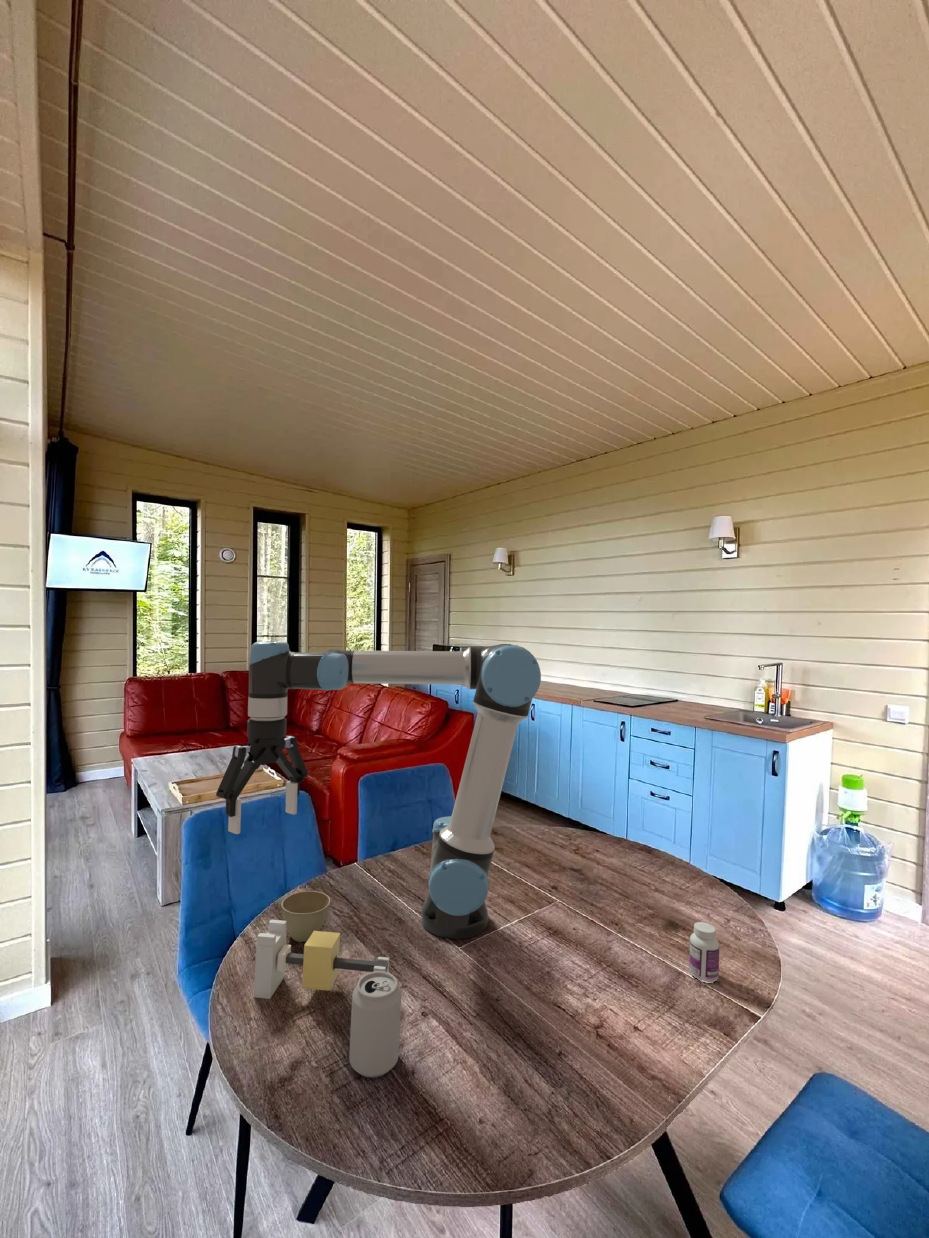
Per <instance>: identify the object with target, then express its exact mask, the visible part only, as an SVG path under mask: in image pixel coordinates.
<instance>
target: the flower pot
mask: <svg viewBox="0 0 929 1238" xmlns="http://www.w3.org/2000/svg"><path fill="white" fill-rule="evenodd" d="M330 905H331V898H330V897H329V895H327V894H326V893H324V892H321V891H318V890H317V891H316V890H307V891H306V890H302V891H298V892H295V893H292V894H290V895H288V896H285V898H283V900H282V901H281V914H282V919H283V921H287V922H286V929H287V930H286V931H287V932H288V934H289V935H290V937H291V938H292V939H293V941H296V942H298V943H306V942H307V941H308V939H309V937H310V936H311V934H312V933H313V931H321V929H322V927H323V925H324V923H325V921H326V918H327V915H328V913H329V909H330Z"/></svg>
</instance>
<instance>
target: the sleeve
mask: <svg viewBox="0 0 929 1238" xmlns="http://www.w3.org/2000/svg"><path fill="white" fill-rule="evenodd" d="M340 944H341V932H332V931H321V930H320V931H313V933H312V934H311V936H310V937H309V939H308V941H306V942H305V943H304V947H303V954H304V961H303V965H302V982H301V983H302V985H301V986H302V987H301V988H302V989H311V990H312V989H313V990H319V991H320V990H321V991H327V992H328V991H330V990H331V989H332V987H333V985H334V983H335V981H336V979H337V977H338V976H339V970H340V969H336V968H333V961H334V959H335V957H336V958H340V947H341V945H340Z"/></svg>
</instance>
